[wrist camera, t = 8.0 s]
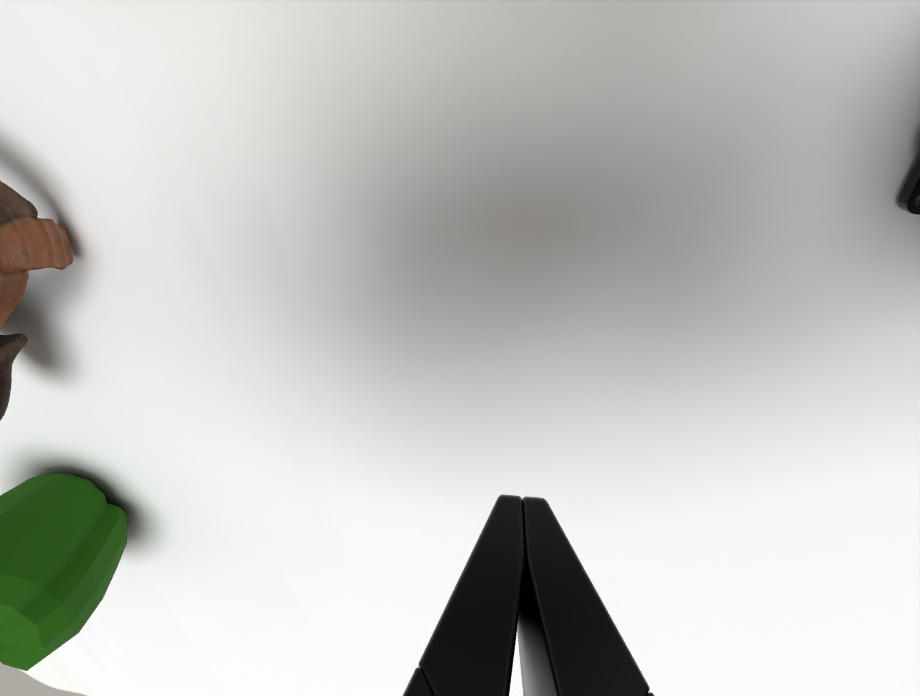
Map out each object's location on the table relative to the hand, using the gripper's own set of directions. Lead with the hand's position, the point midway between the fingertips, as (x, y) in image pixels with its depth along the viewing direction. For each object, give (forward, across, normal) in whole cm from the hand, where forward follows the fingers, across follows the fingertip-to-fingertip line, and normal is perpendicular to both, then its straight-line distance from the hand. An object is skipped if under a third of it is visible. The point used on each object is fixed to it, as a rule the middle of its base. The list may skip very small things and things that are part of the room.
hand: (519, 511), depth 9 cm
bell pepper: (+12, +25, +17) cm, 33 cm away
